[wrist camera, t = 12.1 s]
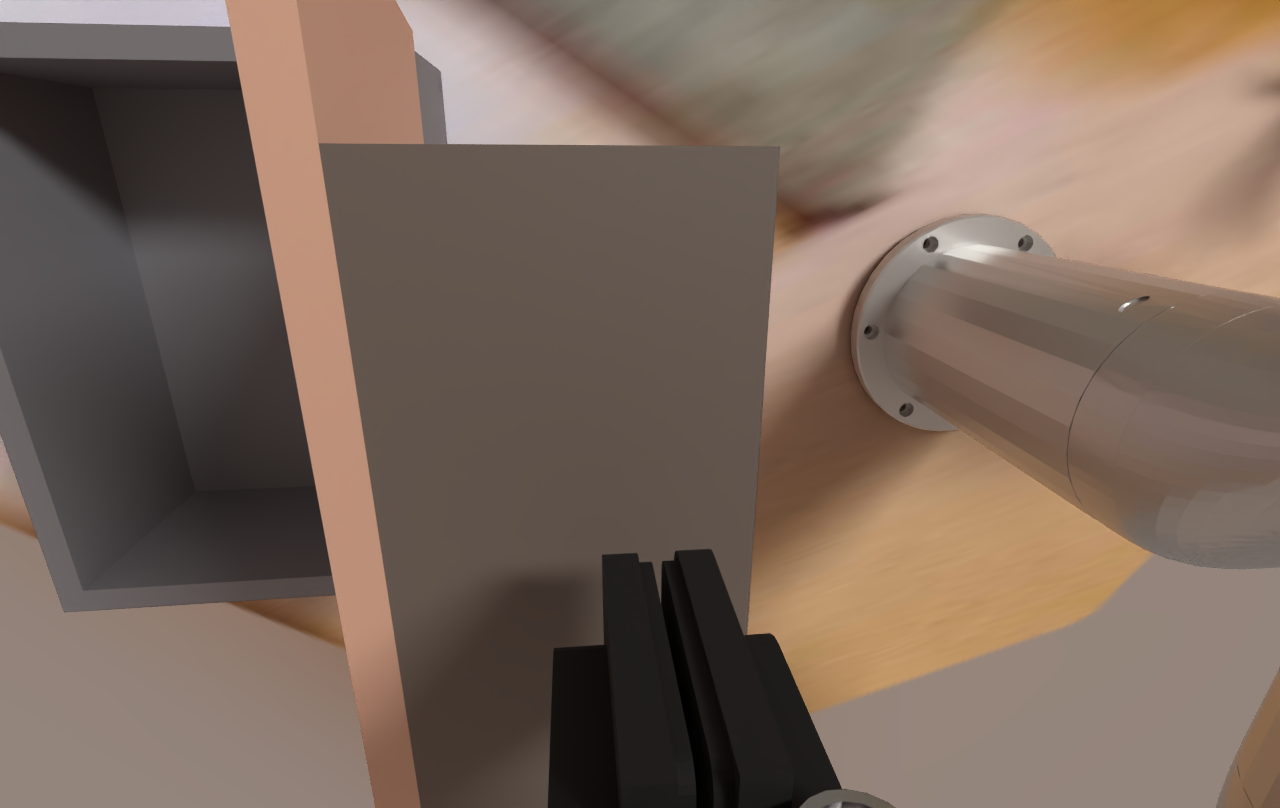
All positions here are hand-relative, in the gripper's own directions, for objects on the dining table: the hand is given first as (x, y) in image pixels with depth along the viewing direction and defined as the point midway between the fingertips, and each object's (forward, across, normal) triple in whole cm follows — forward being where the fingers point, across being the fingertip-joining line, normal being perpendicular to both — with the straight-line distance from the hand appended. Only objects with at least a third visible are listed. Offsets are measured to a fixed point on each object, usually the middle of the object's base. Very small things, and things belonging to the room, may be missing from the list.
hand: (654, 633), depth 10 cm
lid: (+9, +6, 0) cm, 11 cm away
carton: (+27, +15, 0) cm, 31 cm away
